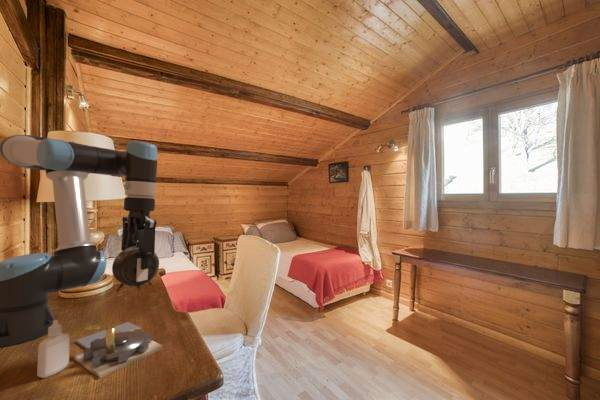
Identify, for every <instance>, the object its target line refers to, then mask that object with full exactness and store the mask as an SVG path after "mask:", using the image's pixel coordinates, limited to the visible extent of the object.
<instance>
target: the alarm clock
mask: <svg viewBox="0 0 600 400" xmlns="http://www.w3.org/2000/svg"><path fill="white" fill-rule="evenodd" d="M135 234H136V233H135ZM135 234H134V235H135ZM134 235H133V236H132V240H133V237H134ZM133 242H134V243H137V245H136V246H133V247H129V248H127V249H125V250H123V251H122V250H121V251H120V252H119V253H118V254H117V255H116V256H115V258H114V260H113V262H112V267H111V271H112V276H113V277H114V278H115V280H117V282H119V283H120V285H119V286H118V288H117V289H116V290H115V291H116V292H117V293H118V292H119V291H120V290H121V289H122V288H123V286H127V287H129V288H133V287H134V288H135V287H136V288H137V291H141V287H142V286H143V285H146V284H147V283H148V284H149V286H152V285H153V283H152V282H151V280H152V279H153V278H154V277H155V276H156V275H157V273H158V272H159V271H158V270H159V266H160V259H159V257H158V254H157V253H156V252H155V254H154V255H152V256H150V257H149V263H148V280H144V281H139V282H137V281H136V274H137V256H139V246H138V241H137V242H135V241H134V240H133Z"/></svg>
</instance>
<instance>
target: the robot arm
mask: <svg viewBox="0 0 600 400" xmlns="http://www.w3.org/2000/svg"><path fill="white" fill-rule="evenodd" d="M0 156H1V157H2V158H3V159H4V160H5V161H6V162H8V163H9V164H12V165H15V166H16V167H20V168H24V169H28V170H36V171H44V172H45V177H46V178H47V179H49V180H51V182H52V188H53V199H54V200H53V201H54V209H55V220H56V229H57V230H56V231H57V239H58V246H57V248H56V249H55V250H53V255H51V254H50V253H49V252H37V253H28V254H22V255H18V256H17V255H16V256H12V257H9V258H6V259H3V260H1V261H0V347H7V346H13V345H18V344H21V343H25V342H28V341H32V340H35V339H37V338H40V337H43V336H45V335H48V328H49V327H50V326H52V324H53V321H54V320H56V318H55V316H54V314H53V312H52V309H51V307H50V305H49V295H50V294H52V293H58V292H63V291H68V290H71V289H75V288H81V287H86V286H89V285H93V284H96V283H98V282H100V281H101V280H102V278H103V276H104V274H105V272H106V268H107V257H106V256H107V255H106V254H105V252H104V251H103V250H99V249H98V245H97V244H95V243H94V242H92V239H91V232H90V224H89V216H88V209H87V201H86V198H87V197H86V192H85V191H86V189H85V183H84V180H86V179H87V178H88V175H89V174H95V175H97V174H98V175H104V176H111V177H118V178H122V177H125V179H124V180H125V182H124V184H123V188H124V195H125V196H127V197H124V199H123V210H124V211H127V212H128V215H127V216H123V217H122V219H121V220H122V232H121V245H120V246H121V252H122V251H123V250H125V249H127V248H129V247H133V246H137V243H134V242H133V240H134V241H135V242H138V246H139V256H137V274H136V281H137V282H139V281H144V280H148V263H149V257H150V256H152V255H154V254H155V253H156V252H155V251H156V250H155V247H156V245H155V244H156V228H157V220H156V219H151V213H150V212H154V211H155V206H156V199H155V198H154V197H155V196H156V193H157V191H156V188H157V171H158V170H157V169H158V160H159V157H158V147H157V146H156V145H155V144H153V143H150V142H146V141H145V142H144V141H135V140H133V141H129V142H128V143H127V145H126V149H125V150H116V149H110V148H103V147H99V146H92V145H86V144H82V143H77V142H75V141H65V140H63V139H58V138H57V139H54V138H49V137H46V136H45V137H43V136H40V135H39V136H38V135H34V134H33V135H32V134H16V135H11V136H7V137H5V138H4V139H3V140H2V141H1V142H0ZM135 233H136V234H135ZM134 234H135V235H134ZM133 235H134V237H133V240H132V236H133Z"/></svg>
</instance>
